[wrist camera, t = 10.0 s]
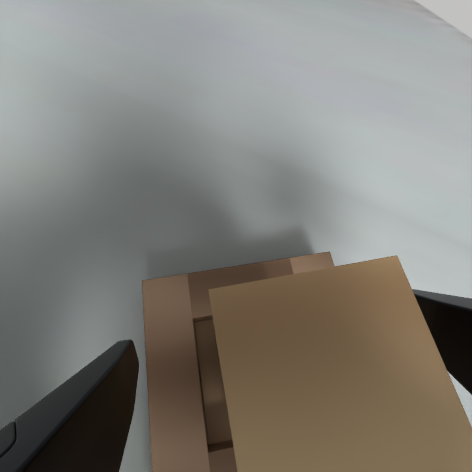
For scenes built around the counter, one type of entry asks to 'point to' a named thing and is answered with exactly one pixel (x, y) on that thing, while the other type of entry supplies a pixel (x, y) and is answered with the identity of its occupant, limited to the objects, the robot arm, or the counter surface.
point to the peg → (336, 375)
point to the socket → (195, 364)
